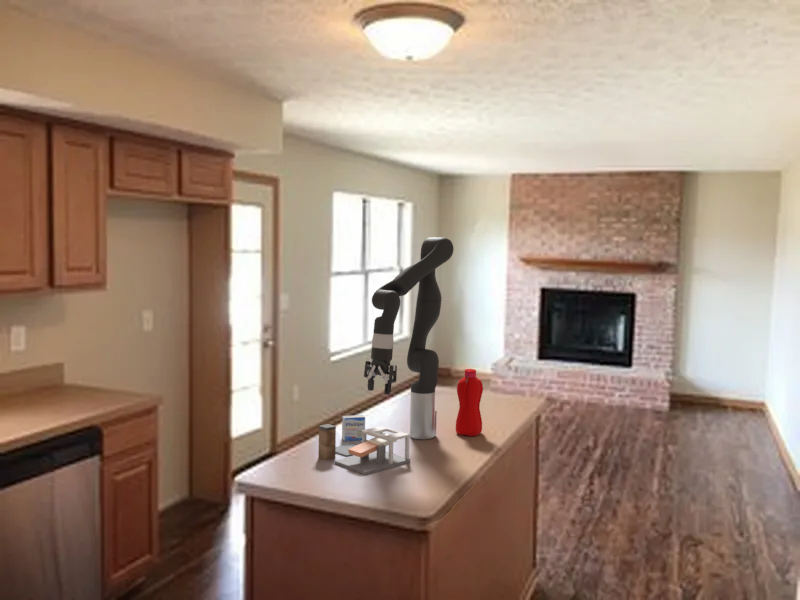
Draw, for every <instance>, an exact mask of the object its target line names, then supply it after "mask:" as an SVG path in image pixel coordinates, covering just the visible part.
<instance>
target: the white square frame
mask: <svg viewBox="0 0 800 600" xmlns="http://www.w3.org/2000/svg"><path fill="white" fill-rule="evenodd" d="M386 432H388V433H391V434H388V435H383V434H384V433H386ZM361 433H362V440H360V443H359V444H361V443H363V442H366V441H368V440H369V439H367V436H370V437H372V438H375V437H377V438H380V439H383V440H387V441H389V445H388V451H386V450H387V448H386V447H387V446H385V445H382V446H378V447H377V451H374V452H372V453H370V454H368V455H366V456H364V457H358V456H355V455H351V456H347V457H345V458H341V459H337V460H334V465H337V466H339V467H341V468H345V469H348V470H350V471H353V472H356V473H359V474H362V475H364V476H366V475H369V474H373V473H377V472H381V471H384V470H387V469H390V468H391V469H392V468H394V467H397V466H398V467H399V466H401V465H402V466H403V465H405V464H408V463H411V459H410V443H411V442H410V440H411V439H410V438H411V437H410V433H407V432H403V431H400V430H396V429H392V428H388V427H385V426H382V425H380V426H374V427H371V428H365V430H361ZM401 439H404V440H405V441H404V442H405V443H404V446H405V447H404V456H402V455H398V454H394V443H393V441H394V440H397V441H398V440H401Z"/></svg>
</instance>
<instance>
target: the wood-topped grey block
mask: <svg viewBox="0 0 800 600" xmlns="http://www.w3.org/2000/svg"><path fill="white" fill-rule="evenodd" d="M336 429H337V426H336V425H333V424H329V423H326V424H320V425H318V459H320V460H323V461H325V460H326V461H331V460H335V459H336V453H335V447H337V446H336V445H337V443H336V442H337V441H336V440H337V438H336V436H337V435H336V433H337V430H336ZM334 458H335V459H334Z"/></svg>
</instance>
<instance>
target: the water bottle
mask: <svg viewBox="0 0 800 600" xmlns="http://www.w3.org/2000/svg"><path fill="white" fill-rule="evenodd" d="M483 387H484V386H483V383H482V380H481V379H480V378H479V377H477V370H476V369H474V368H467V369H466V368H465V370H464V377H461V379H459V381H458V382H457V385H456V394H457V398H458V402H459V403H458V405H459V409H458V413H457V416H456V420H455V432H456V433H457V435H461V436H468V437H476V436H479V435H480V434H482V431H483V420H482V414H481V409H480V404H481V401H482V395H483V392H484V388H483Z"/></svg>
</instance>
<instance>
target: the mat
mask: <svg viewBox="0 0 800 600" xmlns="http://www.w3.org/2000/svg"><path fill="white" fill-rule="evenodd" d="M354 446H356V445H355V444H352V443H346V444H342V445H338V446H336V447H335V454H338V455H340V456H343V457H345V458H348V457H352V456H353V455H352V454H349V451H348V449H350V448H352V447H354Z"/></svg>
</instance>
